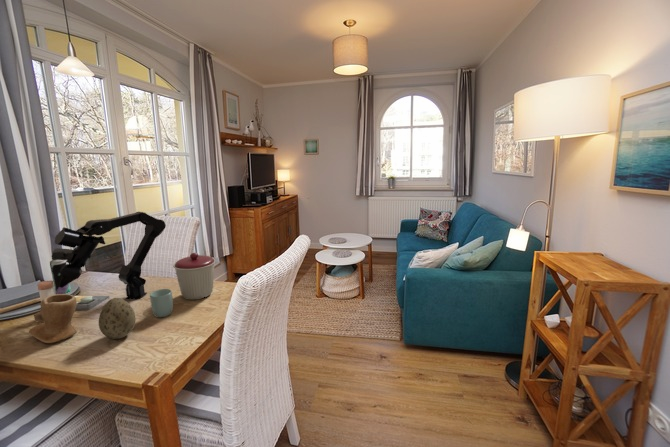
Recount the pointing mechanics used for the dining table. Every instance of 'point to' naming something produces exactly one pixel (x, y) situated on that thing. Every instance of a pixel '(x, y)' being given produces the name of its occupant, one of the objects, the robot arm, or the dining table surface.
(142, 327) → the dining table surface
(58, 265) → the spray can
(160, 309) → the cup
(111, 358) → the dining table surface
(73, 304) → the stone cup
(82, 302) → the button
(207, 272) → the canister
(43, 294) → the white pink-capped bottle
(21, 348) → the dining table surface
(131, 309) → the decorative egg
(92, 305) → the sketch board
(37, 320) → the stand
